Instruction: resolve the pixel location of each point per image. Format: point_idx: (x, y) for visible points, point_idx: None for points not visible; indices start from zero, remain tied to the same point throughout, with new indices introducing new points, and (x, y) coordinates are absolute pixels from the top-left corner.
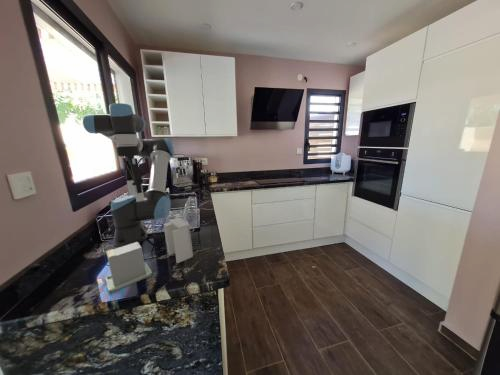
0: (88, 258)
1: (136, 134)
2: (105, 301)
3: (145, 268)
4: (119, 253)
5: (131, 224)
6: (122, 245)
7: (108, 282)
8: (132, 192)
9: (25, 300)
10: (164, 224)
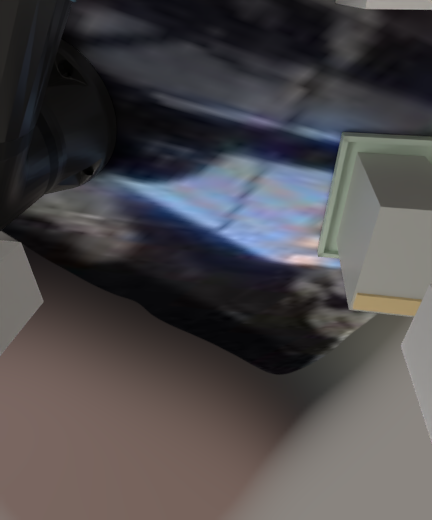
0: (124, 257)
1: None
2: None
3: (383, 146)
4: (423, 286)
5: (42, 144)
6: (104, 165)
7: None
8: (13, 297)
9: (246, 357)
10: (387, 5)
